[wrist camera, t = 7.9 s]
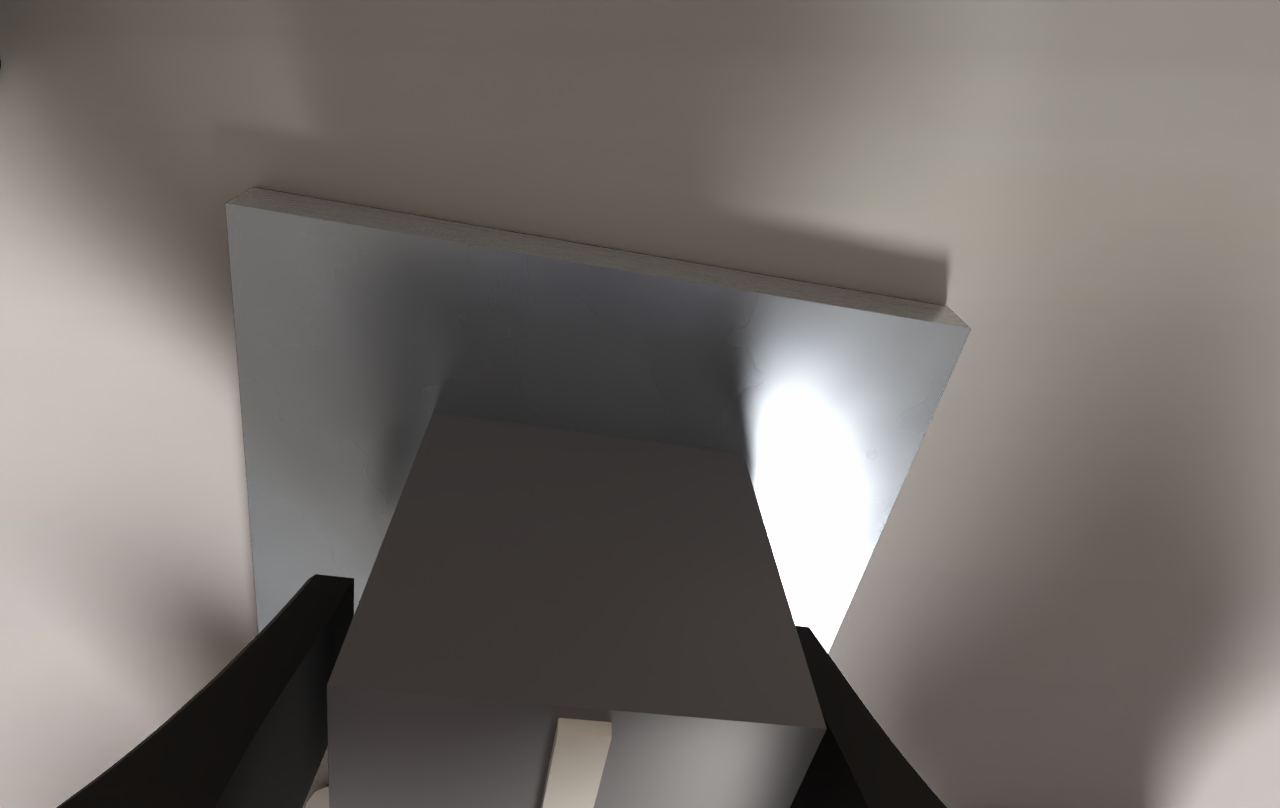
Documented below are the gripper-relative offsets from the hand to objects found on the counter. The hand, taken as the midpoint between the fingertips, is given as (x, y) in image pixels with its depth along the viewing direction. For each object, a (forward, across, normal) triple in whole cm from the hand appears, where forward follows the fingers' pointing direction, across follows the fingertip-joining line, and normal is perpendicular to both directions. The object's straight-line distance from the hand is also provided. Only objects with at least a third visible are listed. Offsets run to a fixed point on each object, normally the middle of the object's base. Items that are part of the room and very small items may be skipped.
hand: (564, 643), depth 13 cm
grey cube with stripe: (+2, 0, 0) cm, 2 cm away
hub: (+3, 0, 0) cm, 3 cm away
